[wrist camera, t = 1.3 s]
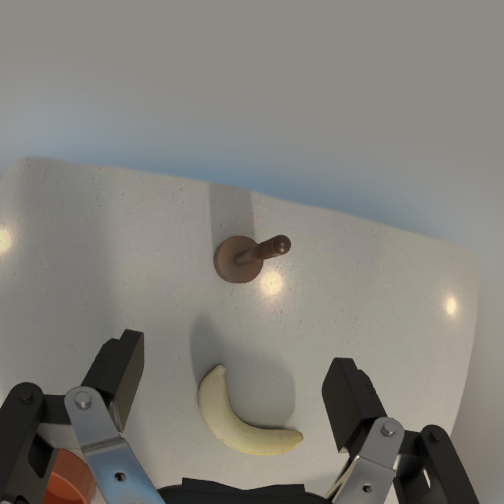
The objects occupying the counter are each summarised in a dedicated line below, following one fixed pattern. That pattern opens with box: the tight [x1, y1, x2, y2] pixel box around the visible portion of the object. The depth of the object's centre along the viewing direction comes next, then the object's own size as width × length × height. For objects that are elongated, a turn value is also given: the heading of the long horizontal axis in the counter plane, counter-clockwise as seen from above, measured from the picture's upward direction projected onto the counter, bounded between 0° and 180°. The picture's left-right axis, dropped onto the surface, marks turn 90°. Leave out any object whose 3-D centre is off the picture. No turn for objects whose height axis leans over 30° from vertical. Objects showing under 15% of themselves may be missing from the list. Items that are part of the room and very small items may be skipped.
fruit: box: [198, 365, 303, 455], centre depth 33 cm, size 7×15×3 cm, turn 44°
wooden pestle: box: [214, 235, 291, 283], centre depth 29 cm, size 5×5×16 cm
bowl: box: [42, 448, 96, 504], centre depth 24 cm, size 10×10×6 cm
